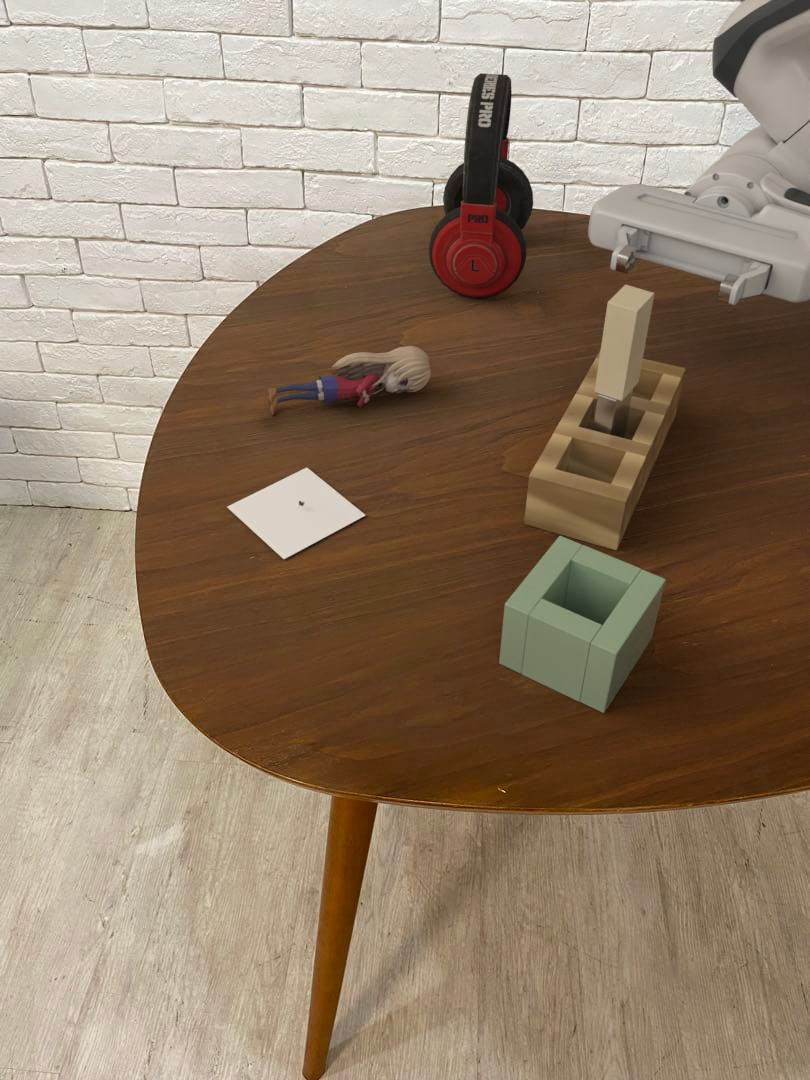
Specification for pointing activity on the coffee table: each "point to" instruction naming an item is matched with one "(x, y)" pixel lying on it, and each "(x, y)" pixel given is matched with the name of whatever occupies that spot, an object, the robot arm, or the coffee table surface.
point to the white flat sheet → (295, 512)
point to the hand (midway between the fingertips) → (671, 279)
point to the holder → (580, 622)
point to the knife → (621, 357)
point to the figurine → (364, 377)
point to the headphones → (483, 202)
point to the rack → (602, 460)
